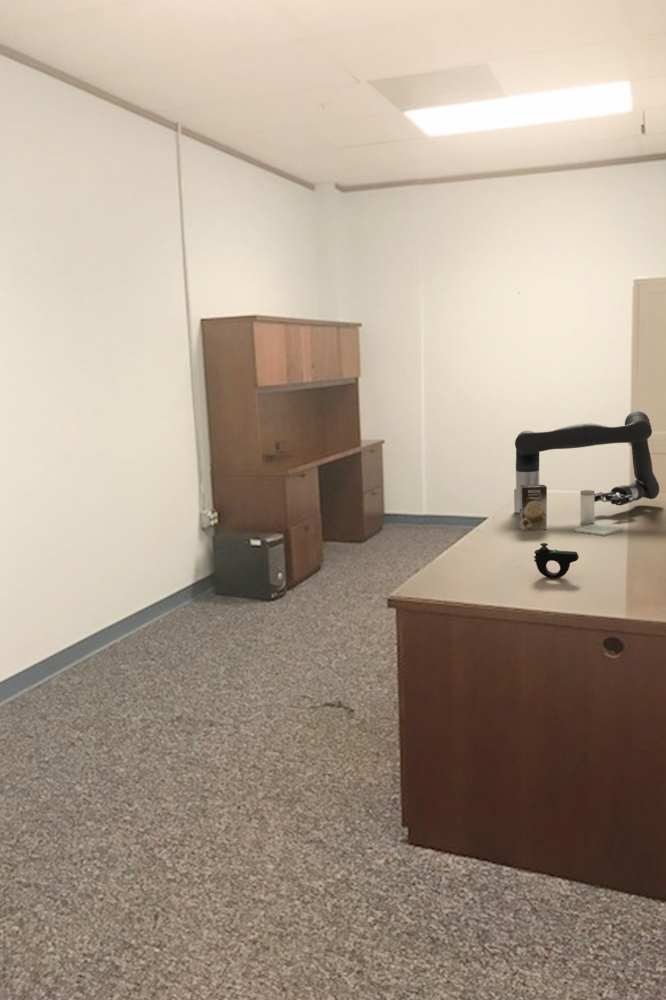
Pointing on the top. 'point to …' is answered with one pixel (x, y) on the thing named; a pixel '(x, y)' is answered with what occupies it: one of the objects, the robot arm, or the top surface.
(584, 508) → the ceramic jar
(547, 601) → the top surface
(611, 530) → the sage pad
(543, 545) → the controller
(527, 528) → the coffee box
